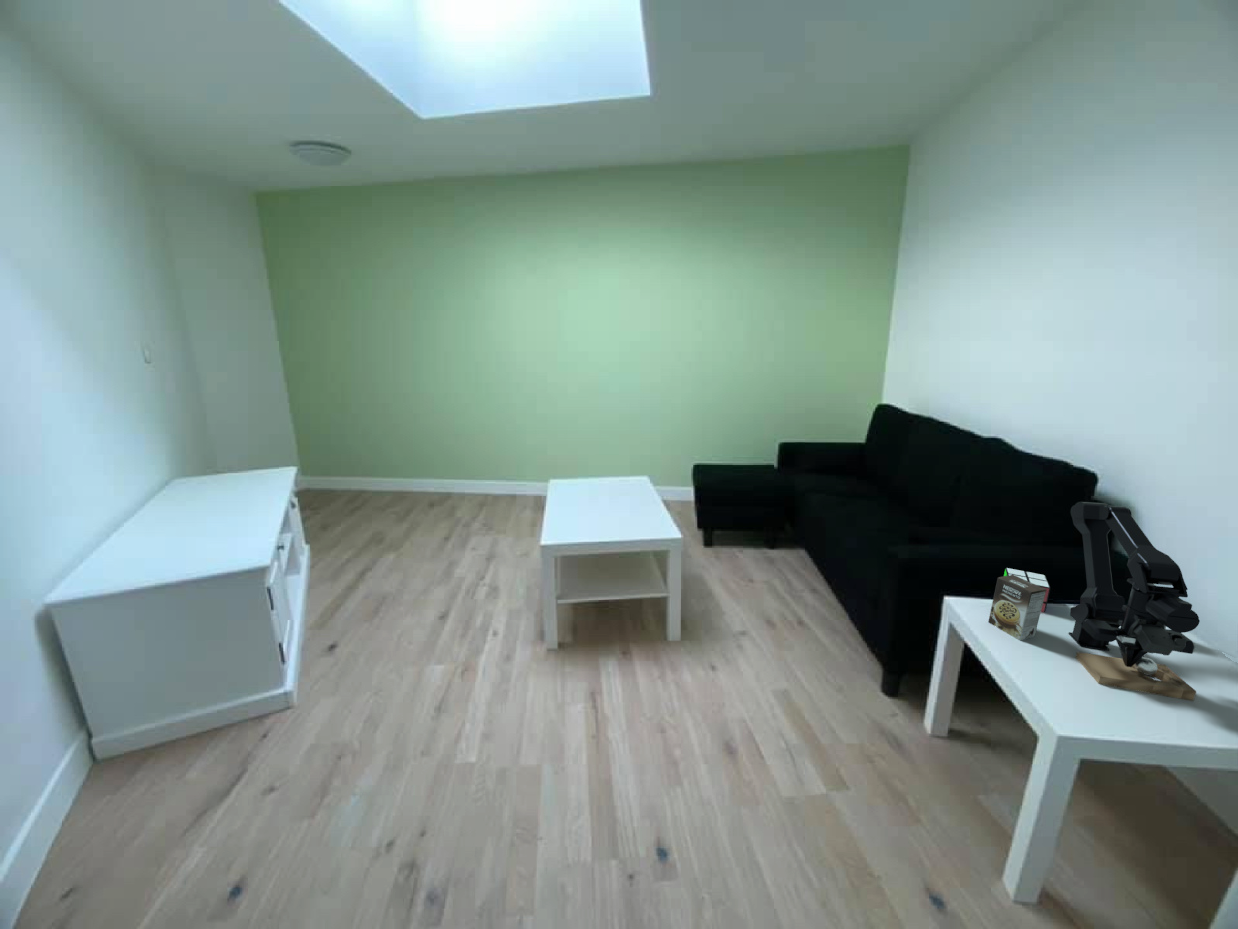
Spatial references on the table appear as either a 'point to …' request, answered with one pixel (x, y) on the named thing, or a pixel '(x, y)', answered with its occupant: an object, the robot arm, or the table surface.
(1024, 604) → the coffee box
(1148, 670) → the ball
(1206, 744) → the table surface
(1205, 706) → the table surface
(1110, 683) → the tan hexagonal hole board
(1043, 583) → the puzzle cube
